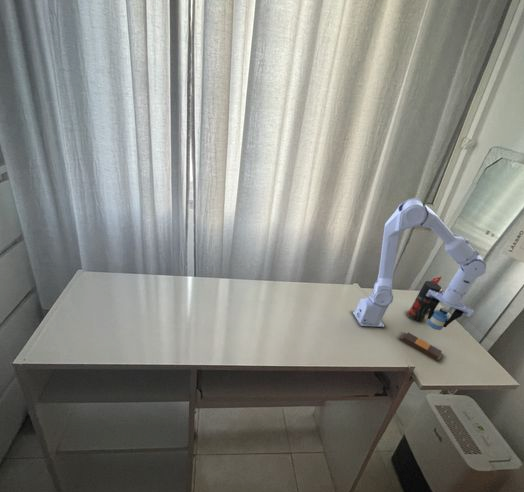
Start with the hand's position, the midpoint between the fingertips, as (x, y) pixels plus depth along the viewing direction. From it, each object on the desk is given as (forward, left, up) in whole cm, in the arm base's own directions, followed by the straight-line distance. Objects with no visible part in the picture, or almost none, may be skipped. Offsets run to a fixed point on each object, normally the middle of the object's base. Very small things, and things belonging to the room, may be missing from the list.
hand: (436, 322), depth 111 cm
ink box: (+12, +19, -8) cm, 24 cm away
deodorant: (+4, +13, -8) cm, 16 cm away
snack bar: (-5, -5, -8) cm, 11 cm away
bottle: (0, 0, -2) cm, 2 cm away
